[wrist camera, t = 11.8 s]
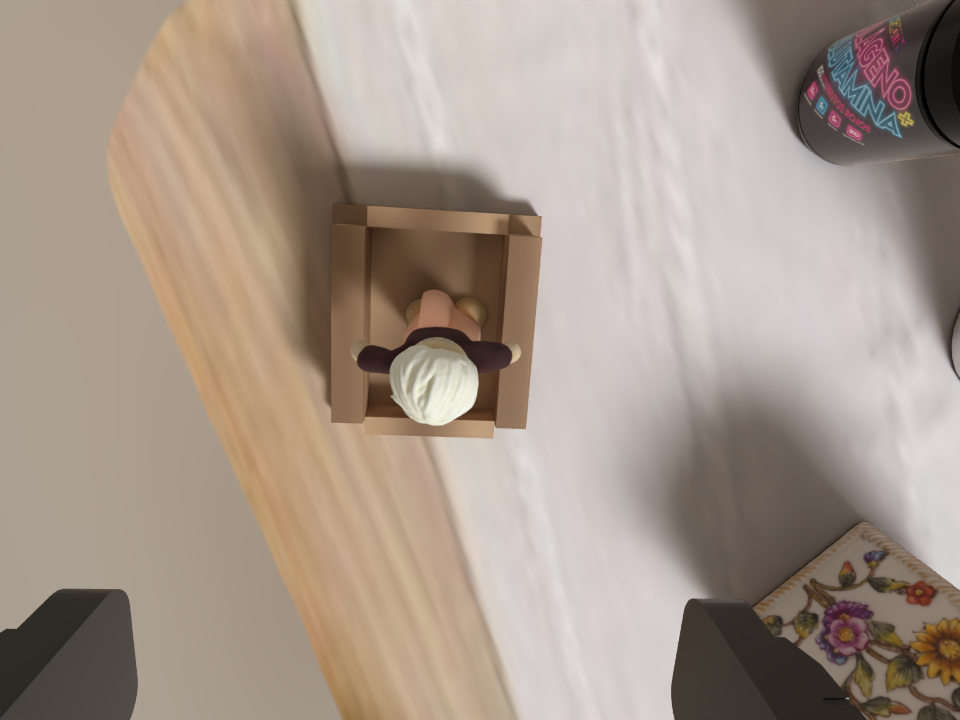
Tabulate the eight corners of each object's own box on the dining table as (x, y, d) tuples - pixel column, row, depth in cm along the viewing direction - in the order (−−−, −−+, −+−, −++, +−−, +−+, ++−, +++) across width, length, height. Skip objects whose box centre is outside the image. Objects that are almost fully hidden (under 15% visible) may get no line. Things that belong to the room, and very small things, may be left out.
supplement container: (864, 4, 30) (1073, -96, 20) (931, 104, 32) (1156, 58, 22) (764, 100, 31) (916, 49, 21) (833, 193, 33) (1007, 187, 23)
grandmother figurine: (499, 274, 32) (535, 316, 19) (510, 342, 33) (551, 421, 20) (360, 300, 32) (308, 358, 19) (376, 367, 33) (336, 462, 20)
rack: (538, 216, 32) (552, 217, 28) (521, 420, 35) (531, 446, 31) (336, 203, 31) (321, 202, 27) (336, 413, 34) (323, 440, 30)
